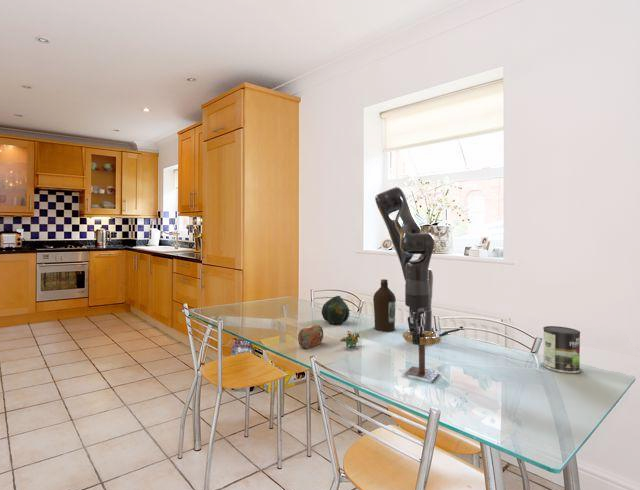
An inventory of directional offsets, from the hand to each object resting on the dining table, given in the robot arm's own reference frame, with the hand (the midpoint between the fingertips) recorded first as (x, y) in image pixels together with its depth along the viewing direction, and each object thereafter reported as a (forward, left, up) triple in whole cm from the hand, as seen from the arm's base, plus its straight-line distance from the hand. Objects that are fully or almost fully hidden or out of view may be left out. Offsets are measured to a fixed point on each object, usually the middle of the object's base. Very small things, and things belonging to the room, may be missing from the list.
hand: (417, 342), depth 132 cm
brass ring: (-5, 0, +1) cm, 5 cm away
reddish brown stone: (-12, -48, -13) cm, 51 cm away
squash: (-56, -58, -13) cm, 81 cm away
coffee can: (-43, +37, -13) cm, 58 cm away
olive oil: (-58, -32, -13) cm, 67 cm away
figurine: (-17, -32, -13) cm, 38 cm away
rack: (-5, 0, -13) cm, 14 cm away
